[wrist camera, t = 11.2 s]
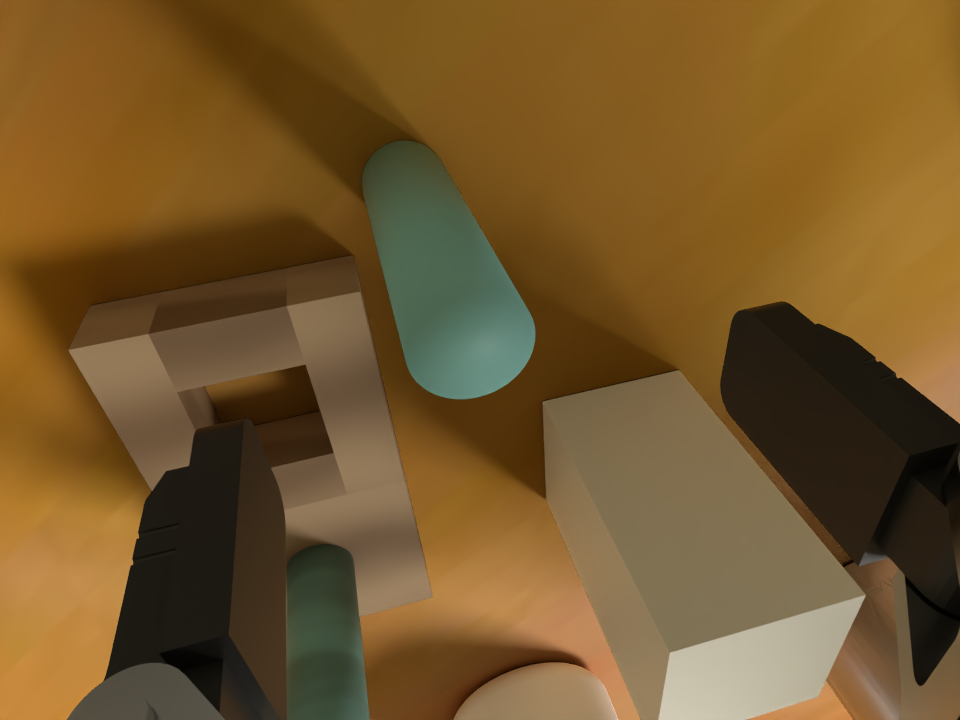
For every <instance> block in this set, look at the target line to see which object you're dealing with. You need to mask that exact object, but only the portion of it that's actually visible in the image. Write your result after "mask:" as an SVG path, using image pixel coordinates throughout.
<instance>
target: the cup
mask: <svg viewBox="0 0 960 720" xmlns="http://www.w3.org/2000/svg"><path fill="white" fill-rule="evenodd" d="M454 720H618V717H617V715H616V712H615V710H614V707H613V705H612V703H611V700H610V698H609V695H608V693H607V691H606V688H605V686H604V685H603V683H602V682H601V681H600V680H599V678H598V677H596V676H595V675H594V674H593V673H592V672H590V671H588V670H586V669H585V668H583V667H580V666H577V665H573V664H569V663H561V662H549V663H540V664H534V665H529V666H525V667H521V668H518V669H515V670H512V671H510V672H507V673H505V674H502V675H500V676H498V677H496V678H494V679H492V680H491V681H489V682H487V683H486V684H484V685H483V686H481V687H480V688H478V689H477V690H476V691H475V692H473V693H472V694H471V695H470V696H469V697H468V698H467V699H466V700H465V702H464V703H463V704H462V705H461V707H460V708H459V710H458V711H457V713H456V715H455V717H454Z"/></svg>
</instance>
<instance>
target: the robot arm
mask: <svg viewBox="0 0 960 720" xmlns="http://www.w3.org/2000/svg"><path fill="white" fill-rule="evenodd" d="M875 358H876V357H874V356H873V355H872V354H871V353H869V352H868V351H867V350H866V349H864V348H863V347H862V346H860V345H859V344H858V343H857V342H855V341H854V340H853V339H852V338H850V337H848V336H845V335H843V334H841V333H839V332H836V331H834V330H832V329H830V328H827V327H825V326H823V325H821V324H814V323H813V322H811V321H810V320H809V319H808V318H807V317H805V316H804V315H803V314H802V313H800V312H799V311H798V310H797V309H796V308H794V307H793V306H792V305H790V304H789V303H786V302H776V303H772V304H767V305H763V306H758V307H753V308H749V309H744V310H740V311H738V312H737V313H736V314H735V315H734V317H733V319H732V323H731V328H730V333H729V338H728V344H727V349H726V354H725V360H724V365H723V370H722V376H721V382H720V389H721V395H722V399H723V403H724V405H725V407H726V410H727V411H728V413H729V415H730V416H731V417H732V419H733V420H734V421H735V422H736V423H737V424H738V426H739V427H740V428H741V429H742V430H743V431H744V433H745V434H746V435H747V436H748V437H749V439H750V440H751V441H752V442H753V443H754V444H755V446H756V447H757V448H758V449H759V450H760V451H761V453H762V454H763V455H764V456H765V457H766V459H767V460H768V461H769V462H770V463H771V464H772V466H773V467H774V468H775V469H776V470H777V471H778V473H779V474H780V475H781V476H782V477H783V479H784V480H785V481H786V482H787V483H788V484H789V486H790V487H791V488H792V489H793V490H794V492H795V493H796V494H797V495H798V496H799V497H800V499H801V500H802V501H803V502H804V503H805V504H806V506H807V507H808V508H809V509H810V510H811V512H812V513H813V514H814V515H815V516H816V517H817V519H818V520H819V521H820V522H821V523H822V524H823V526H824V527H825V528H826V529H827V530H828V532H829V533H830V534H831V535H832V536H833V537H834V539H835V540H836V541H837V542H838V543H839V544H840V546H841V547H842V548H843V549H844V550H845V552H846V553H847V554H848V555H849V556H850V557H851V559H852V560H853V561H854V562H853V563H851V564H849V565H847V566H845V567H844V569H845V570H846V571H847V573H848V574H849V575H850V576H851V577H852V579H853V580H854V581H855V582H856V583H857V585H858V586H859V587H860V588H861V589H862V591H863V592H864V593H865V594H866V596H865V598H864V600H863V602H862V604H861V607H860V609H859V611H858V613H857V615H856V617H855V619H854V621H853V623H852V626H851V628H850V630H849V632H848V634H847V636H846V638H845V640H844V643H843V645H842V647H841V649H840V651H839V653H838V655H837V657H836V660H835V662H834V664H833V666H832V668H831V670H830V672H829V674H828V677H827V679H826V681H827V682H828V684H829V685H830V687H831V688H832V690H833V691H834V693H835V694H836V696H837V697H838V698H839V700H840V701H841V703H842V704H843V706H844V707H845V709H846V710H847V711H848V713H849V714H850V716H851V717H852V719H853V720H960V424H959V423H958V422H957V421H955V420H954V419H953V418H952V417H950V416H949V415H948V414H946V413H945V412H944V411H943V410H941V409H940V408H939V407H938V406H936V405H935V404H934V403H933V402H931V401H930V400H929V399H928V398H926V397H925V396H924V395H922V394H921V393H920V392H919V391H917V390H916V389H915V388H914V387H912V386H911V385H910V384H909V383H907V382H906V381H905V380H903V379H902V378H897V377H896V373H895V372H893V371H892V370H891V369H890V368H888V367H887V366H886V365H885V364H883V363H882V362H881V361H880V362H877V361H876V359H875ZM138 533H139V538H138V539H137V540H136V544H135V549H134V553H133V558H132V559H133V565H131V567H130V571H129V576H128V580H127V585H126V589H125V594H124V598H123V603H122V607H121V612H120V616H119V621H118V625H117V630H116V634H115V639H114V643H113V648H112V652H111V657H110V661H109V666H108V669H107V673H106V676H105V679H104V681H103V682H102V683H101V684H99V685H98V686H97V687H95V688H94V689H93V690H92V691H91V692H90V693H89V694H88V695H87V696H85V697H84V698H83V700H82V701H81V702H80V703H79V704H78V705H77V706H76V708H75V709H74V710H73V711H72V713H71V714H70V716H69V717H68V719H67V720H287V675H286V524H285V512H284V506H283V501H282V496H281V493H280V489H279V486H278V483H277V481H276V478H275V476H274V474H273V471H272V469H271V466H270V464H269V461H268V459H267V456H266V454H265V451H264V449H263V447H262V444H261V442H260V439H259V437H258V434H257V432H256V429H255V427H254V425H253V423H252V421H251V420H250V419H249V418H244V419H239V420H235V421H230V422H226V423H221V424H217V425H212V426H208V427H203V428H199V429H197V430H196V431H195V433H194V437H193V443H192V450H191V456H190V462H189V466H186V467H182V468H177V469H173V470H169V471H166V472H165V473H164V475H163V476H162V478H161V479H160V480H159V482H158V483H157V485H156V486H155V488H154V489H153V491H152V492H151V493H150V495H149V496H148V498H147V499H146V501H145V504H144V508H143V513H142V517H141V522H140V526H139V531H138Z"/></svg>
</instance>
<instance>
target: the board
mask: <svg viewBox="0 0 960 720" xmlns="http://www.w3.org/2000/svg"><path fill="white" fill-rule="evenodd" d="M396 440H397V439H396ZM397 444H398V443H397ZM398 449H399V448H398ZM399 454H400V452H399ZM400 459H401V456H400ZM401 464H402V460H401ZM402 469H403V465H402ZM403 474H404V479H405V481H401V482H397V483H392V484H388V485H384V486H380V487H376V488H372V489H368V490H364V491H360V492H356V493H351V494H347V495H343V496H339V497H335V498H331V499H327V500H323V501H319V502H315V503H310V504H306V505H302V506H298V507H294V508H290V509H286V510H284V512H285V524H286V675H287V720H370V717H369V707H368V697H367V687H366V677H365V667H364V657H363V647H362V637H361V627H360V617H362V616H366V615H369V614H373V613H377V612H381V611H384V610H388V609H392V608H395V607H399V606H403V605H406V604H410V603H414V602H417V601H421V600H425V599H429V598H432V597H433V596H432V592H431V587H430V582H429V577H428V572H427V568H426V563H425V558H424V554H423V550H422V546H421V541H420V537H419V533H418V529H417V524H416V520H415V516H414V512H413V507H412V503H411V499H410V494H409V490H408V486H407V482H406V477H405V473H404V469H403Z"/></svg>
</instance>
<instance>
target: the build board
mask: <svg viewBox="0 0 960 720" xmlns="http://www.w3.org/2000/svg"><path fill="white" fill-rule="evenodd" d="M68 351H69V352H70V354H71V356H72V357H73V359H74V361H75V362H76V364H77V366H78V368H79V369H80V371H81V373H82V374H83V376H84V378H85V379H86V381H87V383H88V384H89V386H90V388H91V390H92V391H93V393H94V395H95V396H96V398H97V400H98V401H99V403H100V405H101V406H102V408H103V410H104V412H105V413H106V415H107V417H108V418H109V420H110V422H111V423H112V425H113V427H114V428H115V430H116V432H117V434H118V435H119V437H120V439H121V440H122V442H123V444H124V445H125V447H126V449H127V450H128V452H129V454H130V456H131V457H132V459H133V461H134V462H135V464H136V466H137V467H138V469H139V471H140V472H141V474H142V476H143V478H144V479H145V481H146V483H147V484H148V486H149V488H150V489H151V491H153V489H154V488H155V486H156V485H157V483H158V482H159V480H160V479H161V478H162V476H163V475H164V473H165V472H166V471H169V470H173V469H177V468H182V467H186V466H189V462H190V456H191V450H192V443H193V437H194V433H195V431H196V430H197V429H199V428H203V427H208V426H212V425H217V424H221V422H220V420H219V418H218V416H217V413H216V411H215V409H214V407H213V405H212V402H211V400H210V398H209V396H208V393H207V391H206V389H205V387H204V386H208V385H213V384H217V383H222V382H227V381H231V380H236V379H241V378H245V377H250V376H255V375H259V374H264V373H269V372H273V371H278V370H283V369H287V368H292V367H297V366H301V365H306V368H307V371H308V374H309V377H310V380H311V383H312V386H313V389H314V392H315V396H316V399H317V402H318V405H319V408H320V411H318V412H314V413H309V414H305V415H301V416H296V417H292V418H287V419H283V420H278V421H274V422H269V423H265V424H260V425H256V426H254V427H255V429H256V432H257V434H258V437H259V439H260V442H261V444H262V447H263V449H264V451H265V454H266V456H267V459H268V461H269V464H270V466H271V469H272V471H273V474H274V476H275V478H276V481H277V483H278V486H279V489H280V493H281V496H282V501H283V506H284V510H286V509H290V508H294V507H298V506H302V505H306V504H310V503H315V502H319V501H323V500H327V499H331V498H335V497H339V496H343V495H347V494H351V493H356V492H360V491H364V490H368V489H372V488H376V487H380V486H384V485H388V484H392V483H397V482H401V481H405V479H404V474H403V469H402V464H401V459H400V454H399V449H398V444H397V440H396V435H395V431H394V426H393V422H392V418H391V414H390V409H389V405H388V401H387V397H386V392H385V388H384V384H383V380H382V375H381V371H380V367H379V363H378V358H377V354H376V350H375V345H374V341H373V337H372V333H371V328H370V324H369V320H368V316H367V311H366V307H365V303H364V299H363V294H362V290H361V286H360V282H359V277H358V273H357V269H356V265H355V260H354V256H353V255H351V256H346V257H341V258H336V259H331V260H325V261H320V262H315V263H310V264H305V265H300V266H294V267H289V268H284V269H279V270H274V271H268V272H263V273H258V274H253V275H248V276H243V277H237V278H232V279H227V280H222V281H217V282H211V283H206V284H201V285H196V286H191V287H186V288H180V289H175V290H170V291H165V292H160V293H155V294H149V295H144V296H139V297H134V298H129V299H123V300H118V301H113V302H108V303H103V304H98V305H92V306H89V308H88V310H87V312H86V315H85V317H84V319H83V321H82V323H81V325H80V327H79V329H78V331H77V333H76V335H75V337H74V339H73V341H72V343H71V345H70V347H69V350H68Z"/></svg>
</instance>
